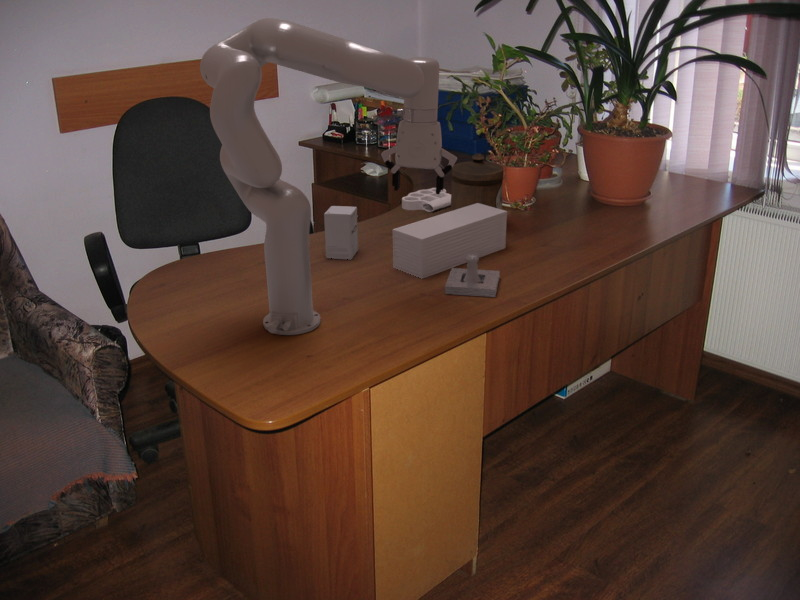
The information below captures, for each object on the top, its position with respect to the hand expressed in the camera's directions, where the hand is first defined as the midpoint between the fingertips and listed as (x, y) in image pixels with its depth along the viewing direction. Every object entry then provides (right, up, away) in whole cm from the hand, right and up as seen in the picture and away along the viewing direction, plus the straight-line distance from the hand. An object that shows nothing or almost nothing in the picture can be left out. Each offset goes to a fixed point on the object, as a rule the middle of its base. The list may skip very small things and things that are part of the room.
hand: (417, 191), depth 188 cm
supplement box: (-20, -13, +33) cm, 41 cm away
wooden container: (+18, -4, +52) cm, 56 cm away
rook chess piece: (+13, -22, +12) cm, 28 cm away
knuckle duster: (+5, +5, +75) cm, 75 cm away
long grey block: (+9, -14, +30) cm, 35 cm away
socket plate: (+14, -22, +12) cm, 28 cm away
